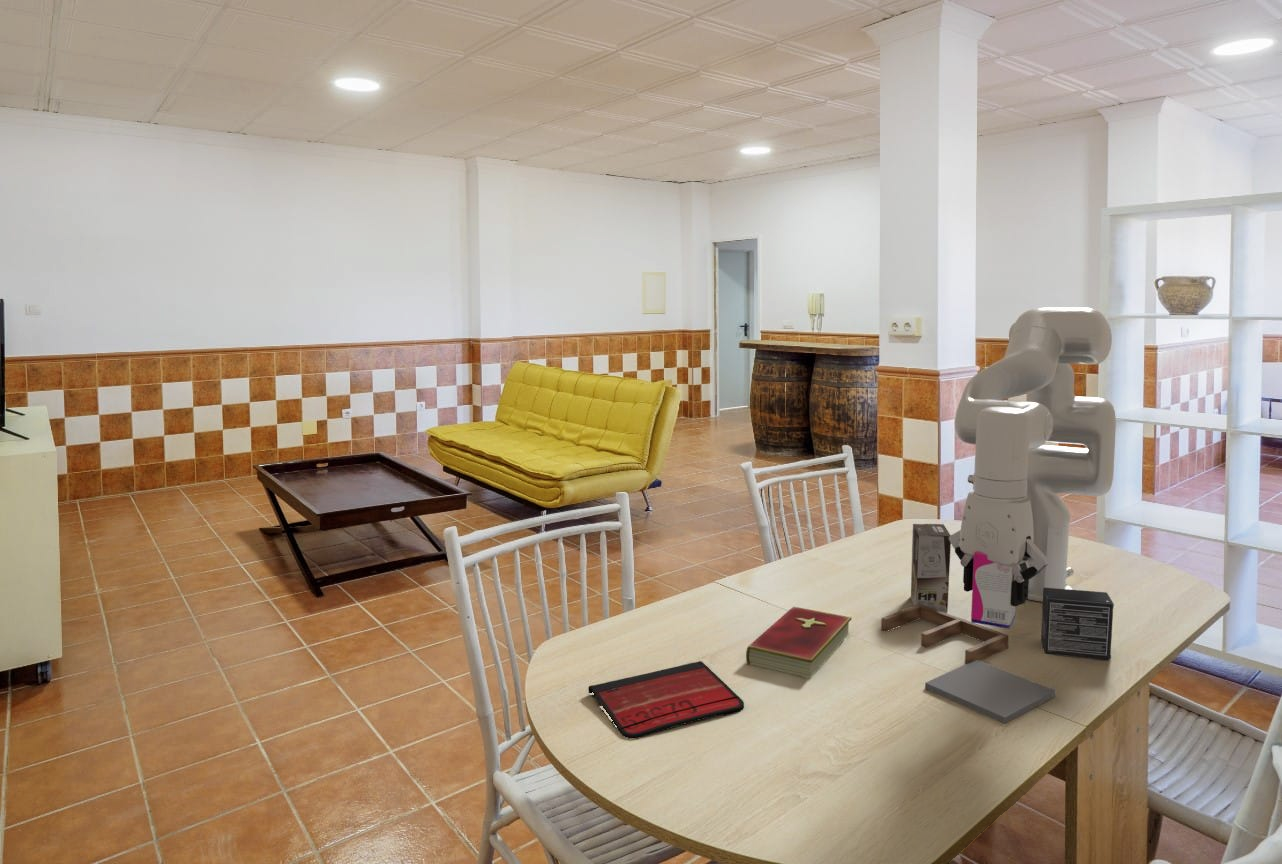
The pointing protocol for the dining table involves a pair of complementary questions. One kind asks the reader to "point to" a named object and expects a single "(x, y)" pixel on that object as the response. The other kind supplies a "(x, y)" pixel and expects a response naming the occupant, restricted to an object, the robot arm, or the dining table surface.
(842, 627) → the hardcover book
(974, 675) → the slate board
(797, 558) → the dining table surface
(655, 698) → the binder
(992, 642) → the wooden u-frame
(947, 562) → the coffee box
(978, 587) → the supplement box
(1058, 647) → the small box
